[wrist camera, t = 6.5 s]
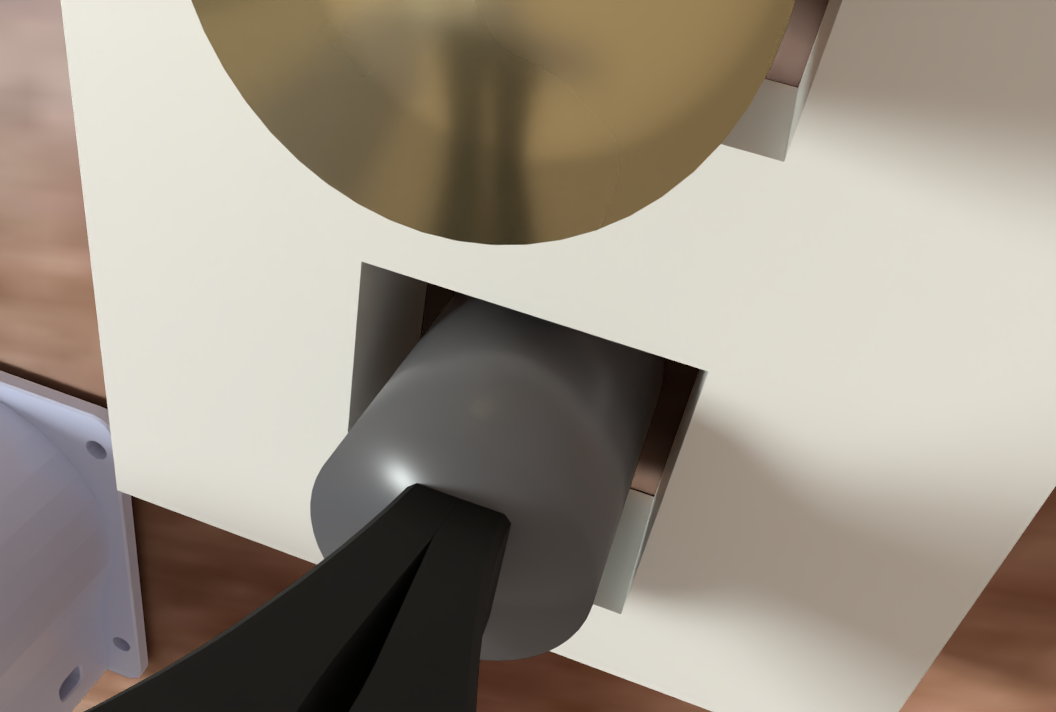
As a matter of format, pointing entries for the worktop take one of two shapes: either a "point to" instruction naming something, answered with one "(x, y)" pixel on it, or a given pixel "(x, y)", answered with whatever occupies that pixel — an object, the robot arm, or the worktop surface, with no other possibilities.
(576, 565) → the knob
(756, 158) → the housing
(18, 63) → the worktop surface
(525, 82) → the knob middle
